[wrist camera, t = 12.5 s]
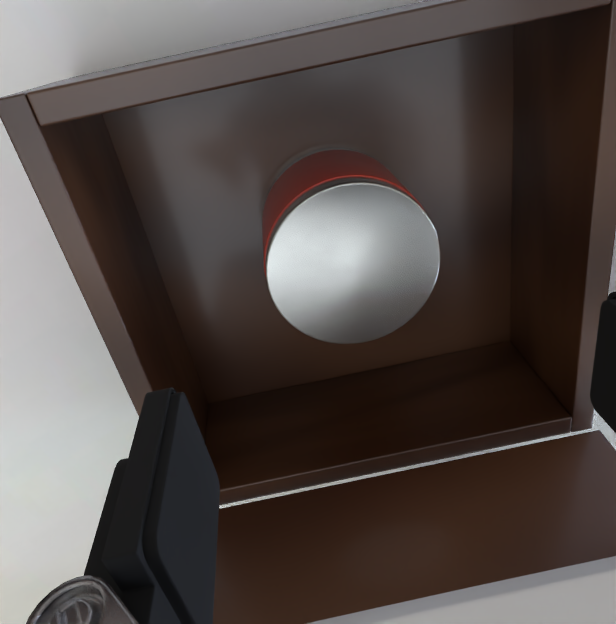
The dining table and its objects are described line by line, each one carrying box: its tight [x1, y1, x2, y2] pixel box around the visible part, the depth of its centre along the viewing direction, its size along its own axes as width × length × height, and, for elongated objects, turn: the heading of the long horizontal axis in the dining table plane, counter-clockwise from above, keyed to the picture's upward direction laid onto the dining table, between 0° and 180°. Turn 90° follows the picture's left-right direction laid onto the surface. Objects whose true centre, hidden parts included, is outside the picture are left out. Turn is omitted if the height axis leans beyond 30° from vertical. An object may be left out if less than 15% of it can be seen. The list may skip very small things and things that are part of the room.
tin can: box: [262, 147, 440, 344], centre depth 20 cm, size 6×6×6 cm
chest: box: [0, 0, 616, 505], centre depth 21 cm, size 17×18×7 cm
